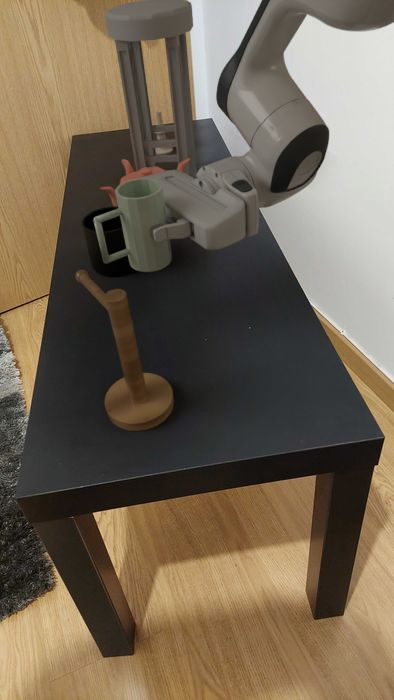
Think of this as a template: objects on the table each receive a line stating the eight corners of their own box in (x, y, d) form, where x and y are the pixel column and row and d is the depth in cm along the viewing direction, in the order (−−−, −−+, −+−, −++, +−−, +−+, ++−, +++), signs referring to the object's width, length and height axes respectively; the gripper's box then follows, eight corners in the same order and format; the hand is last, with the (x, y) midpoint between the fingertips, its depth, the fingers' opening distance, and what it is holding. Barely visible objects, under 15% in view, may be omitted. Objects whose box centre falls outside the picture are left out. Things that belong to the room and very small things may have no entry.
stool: (199, 203, 109) (184, 10, 86) (129, 204, 112) (96, 17, 88) (207, 173, 121) (195, -5, 97) (143, 175, 123) (116, 1, 99)
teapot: (109, 237, 102) (98, 185, 94) (130, 204, 112) (121, 154, 104) (180, 239, 99) (174, 186, 91) (194, 205, 109) (190, 154, 102)
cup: (158, 244, 77) (147, 173, 70) (180, 261, 73) (171, 188, 66) (97, 268, 73) (80, 197, 66) (117, 288, 69) (100, 214, 62)
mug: (128, 287, 88) (119, 241, 82) (81, 267, 94) (70, 223, 88) (163, 262, 93) (157, 217, 87) (117, 244, 99) (108, 201, 93)
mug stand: (186, 408, 67) (171, 298, 55) (126, 442, 63) (96, 332, 51) (129, 345, 77) (106, 240, 65) (75, 372, 73) (39, 266, 61)
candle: (152, 149, 135) (146, 107, 128) (171, 146, 135) (166, 104, 128) (154, 156, 131) (148, 114, 124) (174, 153, 131) (169, 111, 124)
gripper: (181, 152, 79) (101, 179, 74) (265, 195, 66) (175, 232, 61) (184, 191, 83) (109, 218, 78) (264, 239, 70) (180, 276, 65)
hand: (139, 225), depth 70 cm, fingers closed on cup, 6 cm apart
